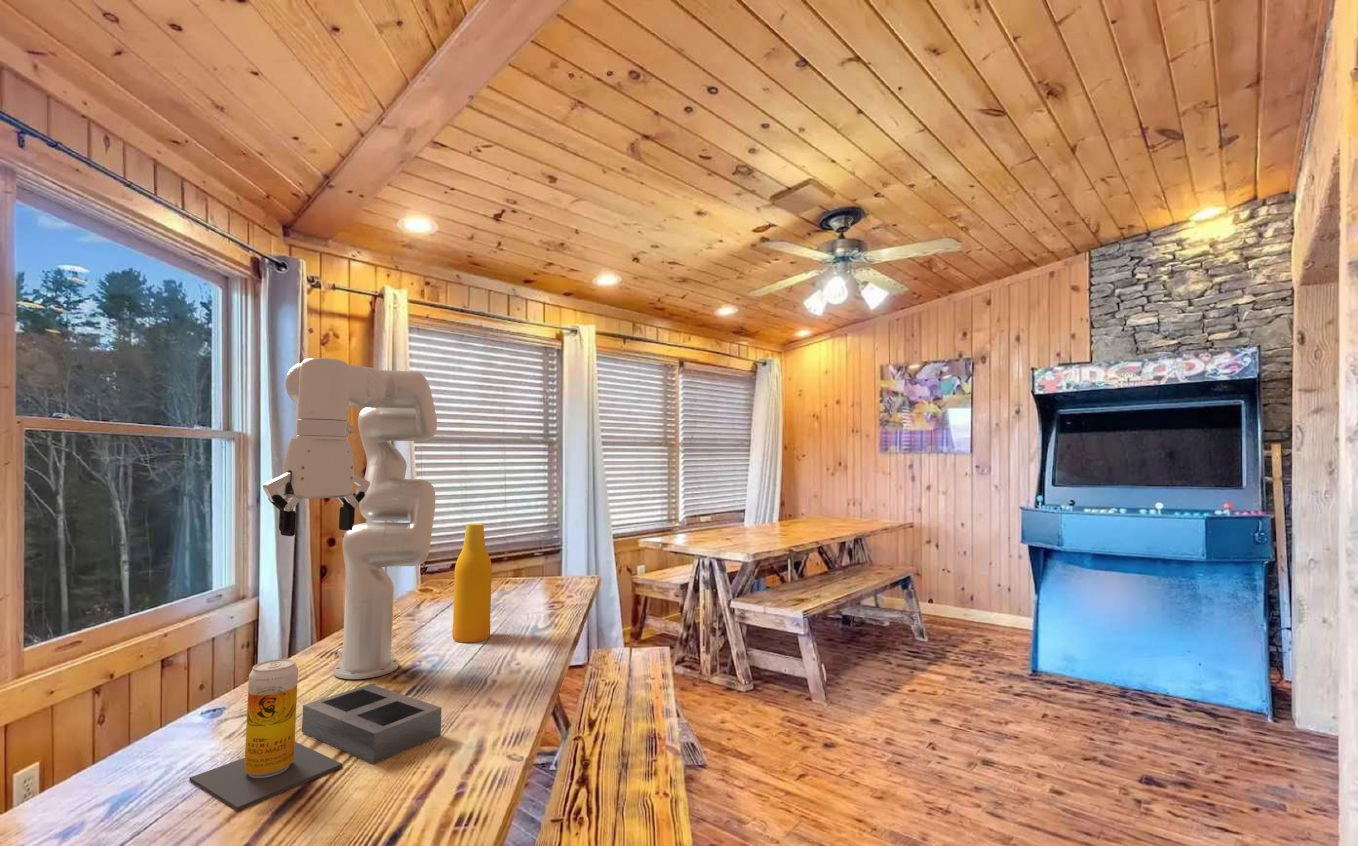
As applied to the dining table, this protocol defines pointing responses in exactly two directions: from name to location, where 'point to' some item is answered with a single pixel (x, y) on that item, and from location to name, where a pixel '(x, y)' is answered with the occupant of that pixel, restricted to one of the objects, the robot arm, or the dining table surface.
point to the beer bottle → (472, 588)
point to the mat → (246, 790)
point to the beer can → (271, 718)
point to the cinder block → (371, 722)
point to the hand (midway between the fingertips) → (317, 532)
